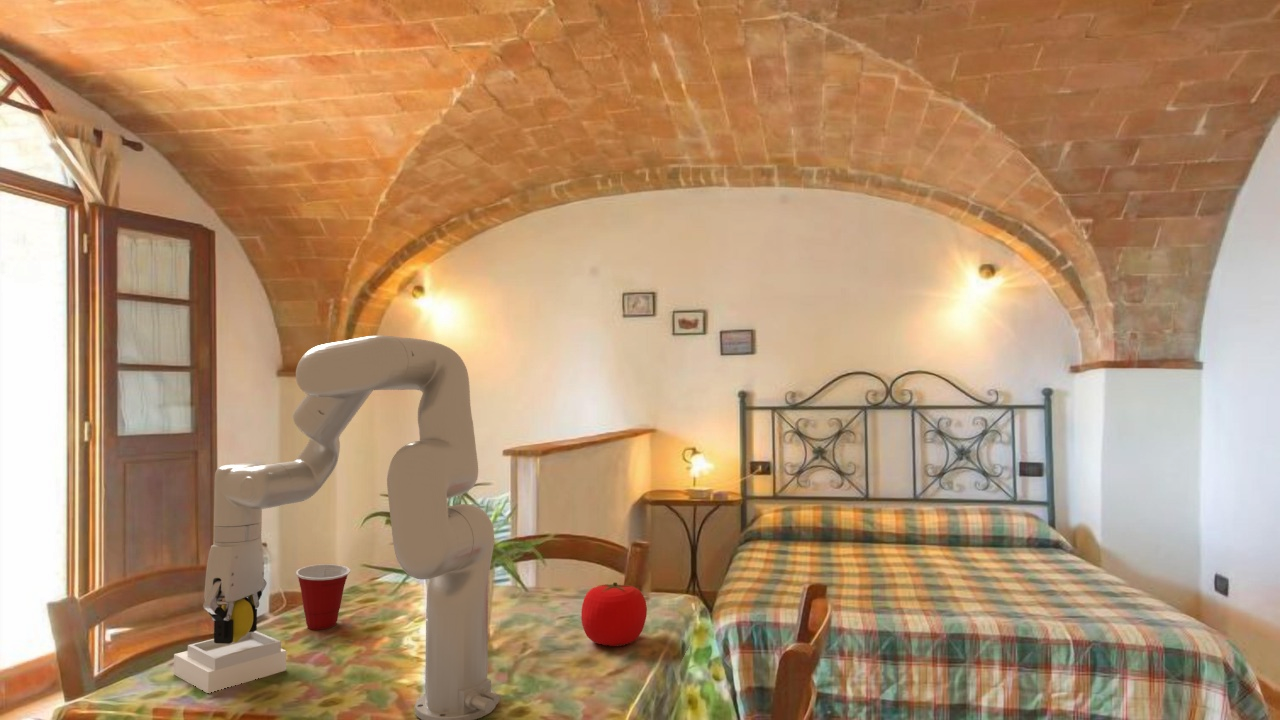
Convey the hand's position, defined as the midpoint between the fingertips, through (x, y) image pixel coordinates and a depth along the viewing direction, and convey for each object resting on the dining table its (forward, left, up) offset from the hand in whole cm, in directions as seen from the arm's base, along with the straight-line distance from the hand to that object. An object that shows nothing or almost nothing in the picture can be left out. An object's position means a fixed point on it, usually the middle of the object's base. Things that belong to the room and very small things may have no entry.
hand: (235, 635), depth 130 cm
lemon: (0, 0, -1) cm, 1 cm away
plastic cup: (+14, -24, -7) cm, 28 cm away
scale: (+2, 0, -7) cm, 7 cm away
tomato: (-42, -54, -7) cm, 69 cm away
